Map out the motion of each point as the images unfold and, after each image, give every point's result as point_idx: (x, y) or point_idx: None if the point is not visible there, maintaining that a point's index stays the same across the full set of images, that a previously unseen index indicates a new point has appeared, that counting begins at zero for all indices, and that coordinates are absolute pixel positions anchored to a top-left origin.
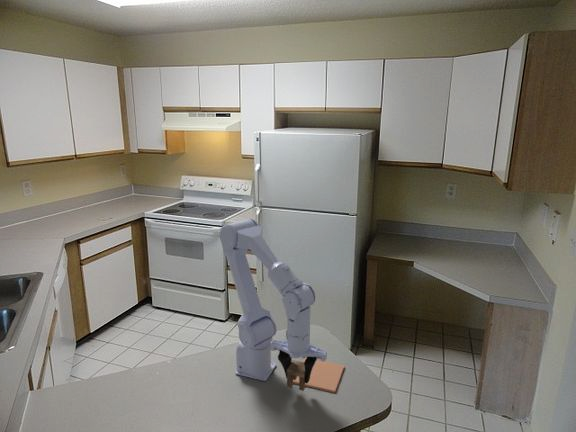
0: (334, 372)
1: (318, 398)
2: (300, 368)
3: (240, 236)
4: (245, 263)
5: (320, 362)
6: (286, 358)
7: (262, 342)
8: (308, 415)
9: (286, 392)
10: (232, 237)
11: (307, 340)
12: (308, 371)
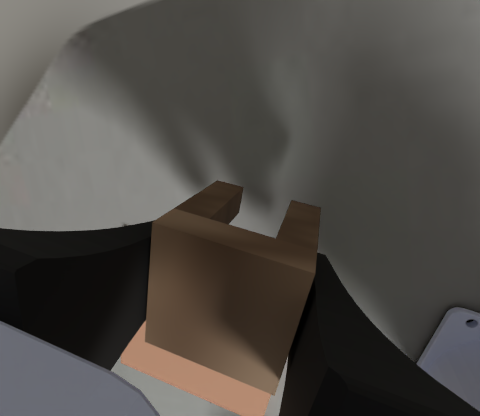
0: (143, 332)
1: (181, 196)
2: (193, 289)
3: None
4: None
5: (199, 388)
6: (318, 403)
7: None
8: (205, 77)
9: (327, 226)
10: None
11: None
12: (105, 233)
